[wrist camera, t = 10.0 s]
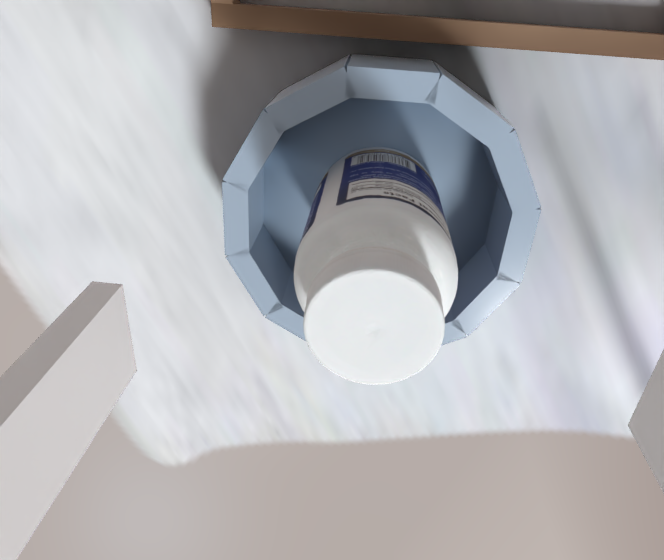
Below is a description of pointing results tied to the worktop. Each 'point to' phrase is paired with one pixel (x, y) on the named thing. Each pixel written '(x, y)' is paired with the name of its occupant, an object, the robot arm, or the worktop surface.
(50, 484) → the robot arm
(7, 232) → the worktop surface
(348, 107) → the bowl
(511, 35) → the empty rectangular wooden frame
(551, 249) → the worktop surface
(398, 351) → the pill bottle
